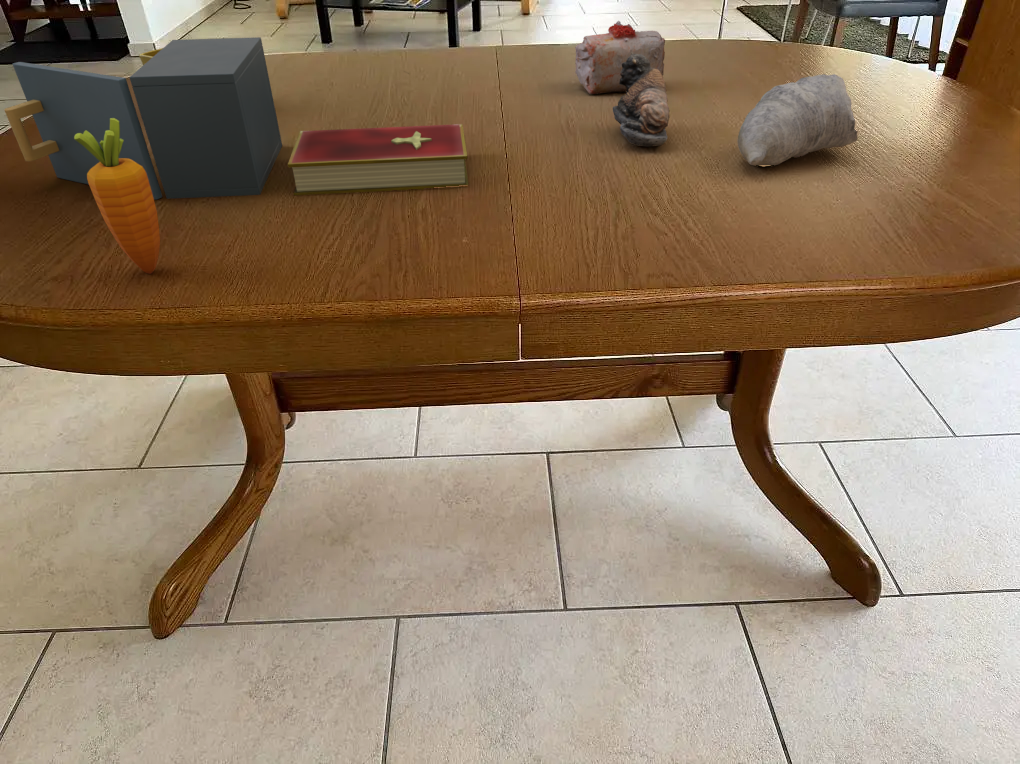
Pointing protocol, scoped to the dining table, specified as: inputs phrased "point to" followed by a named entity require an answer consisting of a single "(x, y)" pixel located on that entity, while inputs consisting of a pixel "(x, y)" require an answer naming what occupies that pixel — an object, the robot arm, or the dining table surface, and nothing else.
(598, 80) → the food item
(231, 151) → the cupboard
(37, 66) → the door
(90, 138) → the carrot
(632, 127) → the bison figurine
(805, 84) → the seashell
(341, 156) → the hardcover book
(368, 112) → the dining table surface
